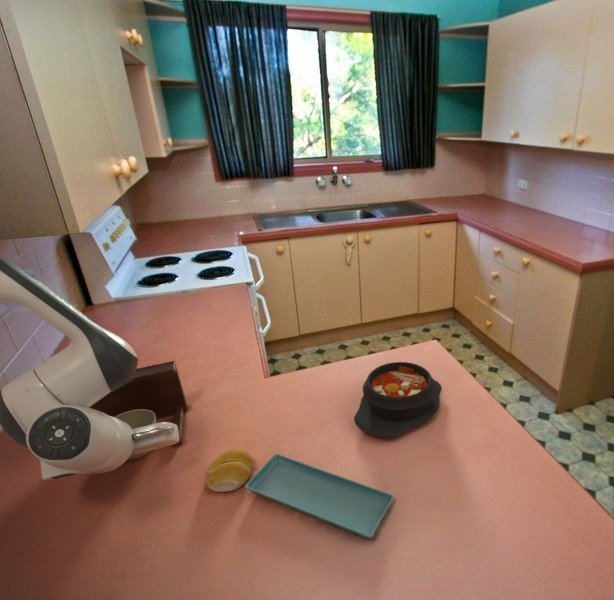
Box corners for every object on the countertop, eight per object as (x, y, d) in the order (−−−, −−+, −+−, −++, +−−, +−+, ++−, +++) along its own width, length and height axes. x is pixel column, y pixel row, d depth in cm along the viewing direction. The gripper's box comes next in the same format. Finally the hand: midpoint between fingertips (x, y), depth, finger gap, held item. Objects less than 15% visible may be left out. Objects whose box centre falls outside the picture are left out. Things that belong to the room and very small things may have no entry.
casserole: (396, 372, 115) (395, 345, 111) (458, 393, 105) (459, 364, 102) (335, 425, 96) (332, 394, 92) (405, 457, 86) (404, 424, 83)
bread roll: (256, 456, 88) (253, 440, 86) (247, 490, 80) (243, 474, 78) (215, 460, 87) (211, 444, 85) (201, 495, 79) (197, 479, 77)
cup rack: (186, 442, 92) (171, 392, 87) (83, 470, 85) (60, 417, 80) (188, 407, 103) (174, 360, 98) (97, 429, 97) (78, 380, 92)
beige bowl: (107, 476, 84) (96, 448, 81) (112, 444, 92) (102, 418, 89) (164, 457, 88) (155, 430, 85) (163, 429, 96) (155, 403, 93)
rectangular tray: (395, 503, 76) (394, 492, 75) (372, 547, 69) (371, 536, 68) (277, 461, 86) (275, 452, 85) (245, 496, 78) (243, 486, 77)
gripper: (168, 409, 76) (184, 420, 88) (29, 443, 69) (67, 450, 81) (173, 445, 74) (188, 451, 86) (30, 483, 67) (68, 484, 79)
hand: (128, 451), depth 84 cm, fingers closed, pressing on beige bowl
